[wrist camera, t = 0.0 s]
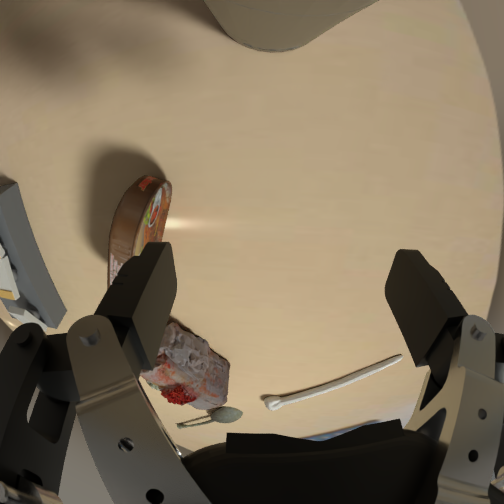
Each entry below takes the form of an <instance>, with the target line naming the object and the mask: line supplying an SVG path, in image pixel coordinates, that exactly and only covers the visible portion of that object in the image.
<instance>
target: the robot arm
mask: <svg viewBox="0 0 504 504" xmlns="http://www.w3.org/2000/svg"><path fill="white" fill-rule="evenodd" d="M203 1H204V2H205V3H206V5H207V6H208V8H209V9H210V11H211V12H212V14H213V15H214V17H215V18H216V20H217V21H218V23H219V24H220V26H221V27H222V28H223V30H224V31H225V32H226V33H227V34H228V35H229V36H230V37H231V38H232V39H234V40H235V41H236V42H238V43H240V44H242V45H244V46H246V47H248V48H251V49H254V50H257V51H263V52H285V51H290V50H294V49H297V48H299V47H302V46H304V45H306V44H307V43H309V42H310V41H312V40H313V39H315V38H317V37H318V36H320V35H321V34H323V33H324V32H326V31H327V30H329V29H331V28H332V27H334V26H335V25H337V24H339V23H340V22H342V21H344V20H345V19H347V18H349V17H350V16H352V15H354V14H356V13H357V12H359V11H361V10H363V9H364V8H366V7H368V6H370V5H372V4H373V3H375V2H377V1H379V0H203ZM176 292H177V278H176V272H175V266H174V259H173V253H172V247H171V244H170V243H169V242H147V244H146V245H145V247H144V249H143V250H142V252H141V254H140V255H139V256H133V257H131V258H130V259H129V260H128V261H126V262H125V263H124V264H123V265H122V267H121V268H120V270H119V272H118V273H117V276H116V277H115V278H114V280H113V282H112V285H110V287H109V288H108V290H107V292H106V293H105V295H104V297H103V299H102V301H101V302H100V304H99V306H98V308H97V309H96V311H95V313H94V315H89V316H85V317H83V318H81V319H79V320H77V321H76V322H75V323H74V324H73V325H72V326H71V327H70V329H69V330H68V333H63V334H54V335H46V334H45V332H44V331H43V329H42V327H41V326H40V325H39V324H37V323H33V322H30V323H25V324H23V325H21V326H19V327H18V328H16V329H15V330H14V331H13V333H12V334H11V335H10V337H9V339H8V340H7V342H6V344H5V346H4V348H3V350H2V352H1V353H0V504H63V503H62V501H61V499H60V498H59V497H58V493H59V486H60V481H61V475H62V470H63V465H64V460H65V456H66V451H67V447H68V443H69V439H70V435H71V430H72V427H73V423H74V420H75V416H76V413H77V416H78V419H79V423H80V426H81V428H82V431H83V434H84V437H85V440H86V442H87V445H88V448H89V450H90V452H91V455H92V457H93V460H94V462H95V465H96V467H97V469H98V471H99V474H100V476H101V478H102V480H103V482H104V484H105V486H106V488H107V490H108V492H109V494H110V496H111V498H112V500H113V502H114V504H504V334H499V333H494V331H493V328H492V327H491V325H490V324H489V323H488V322H487V321H486V320H484V319H483V318H481V317H479V316H476V315H468V314H467V312H466V311H465V309H464V308H463V306H462V305H461V303H460V302H459V300H458V299H457V297H456V296H455V294H454V293H453V291H452V290H450V287H449V286H448V284H447V283H446V282H445V280H444V279H443V277H442V276H441V275H440V273H439V272H438V271H437V270H436V269H435V268H433V267H432V266H431V265H430V264H429V263H428V262H427V261H426V259H425V258H424V257H423V255H422V254H421V253H420V252H419V251H418V250H408V249H400V250H398V251H397V253H396V255H395V258H394V261H393V264H392V267H391V270H390V273H389V275H388V278H387V281H386V284H385V297H386V300H387V302H388V304H389V306H390V308H391V310H392V313H393V315H394V317H395V319H396V321H397V323H398V326H399V328H400V330H401V332H402V335H403V337H404V339H405V342H406V344H407V346H408V349H409V351H410V353H411V356H412V358H413V361H414V363H415V366H416V367H421V366H426V365H429V367H430V369H429V371H428V372H427V374H426V376H425V379H424V382H423V386H422V389H421V392H420V395H419V398H418V401H417V404H416V406H415V409H414V412H413V414H412V417H411V418H410V420H409V422H408V423H407V424H406V426H405V427H404V429H402V425H401V421H400V419H396V420H391V421H386V422H381V423H376V424H370V425H364V426H361V427H359V428H357V429H354V430H352V431H349V432H347V433H344V434H342V435H339V436H336V437H334V438H331V439H328V440H325V441H312V440H306V439H299V438H294V437H288V436H283V435H278V434H249V433H227V438H226V442H224V443H218V444H214V445H211V446H207V447H204V448H202V449H199V450H197V451H195V452H193V453H191V454H189V455H187V456H186V457H183V455H182V454H181V452H180V451H179V449H178V448H177V446H176V444H175V443H174V441H173V440H172V438H171V437H170V435H169V434H168V432H167V430H166V429H165V427H164V425H163V424H162V422H161V420H160V419H159V417H158V415H157V413H156V412H155V410H154V408H153V406H152V404H151V402H150V400H149V399H148V397H147V395H146V393H145V391H144V389H143V387H142V385H141V383H140V381H139V376H140V373H141V369H143V370H150V371H153V370H154V366H155V363H156V359H157V356H158V352H159V349H160V345H161V342H162V338H163V335H164V332H165V328H166V325H167V322H168V319H169V315H170V312H171V309H172V306H173V303H174V300H175V297H176ZM36 387H37V388H38V389H39V390H40V392H39V395H38V397H37V400H36V403H35V405H34V408H33V411H32V414H31V417H30V420H29V423H28V422H27V410H28V407H29V404H30V402H31V399H32V396H33V393H34V391H35V388H36ZM493 470H494V472H495V478H496V479H495V480H493V481H491V478H492V474H493Z"/></svg>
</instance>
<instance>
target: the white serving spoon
mask: <svg viewBox="0 0 504 504" xmlns="http://www.w3.org/2000/svg"><path fill="white" fill-rule="evenodd" d="M402 358H403V355H399V356H396V357H393V358H390V359H388V360H385V361H383V362H381V363H378V364H375V365H373V366H370V367H367V368H365V369H363V370H361V371H358V372H355V373H353V374H350V375H348V376H346V377H344V378H342V379H339V380H336V381H333V382H330V383H328V384H325V385H322V386H319V387H316V388H313V389H309V390H306V391H303V392H300V393H296V394H293V395H289V396H285V397H279V396H269V397H267V398H265V399H264V403H265V405H266V407H267V408H268V409H269V410H277V409H279V408H280V407H281V406H283V405H287V404H291V403H294V402H297V401H301V400H304V399H307V398H310V397H313V396H316V395H319V394H323V393H326V392H329V391H332V390H334V389H337V388H340V387H343V386H346V385H348V384H351V383H353V382H355V381H358V380H360V379H362V378H365V377H367V376H370V375H372V374H374V373H376V372H378V371H380V370H382V369H384V368H386V367H388V366H390V365H393V364H395V363H397V362H398V361H400V360H401V359H402Z"/></svg>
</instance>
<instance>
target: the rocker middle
mask: <svg viewBox="0 0 504 504" xmlns="http://www.w3.org/2000/svg"><path fill="white" fill-rule="evenodd" d="M17 278H18V273H17V271H16V270H13V269H11V266H10V263H9V259H8V256H5V255H4V256H3V257H2V258H0V297H2V298H6V299H11V300H17V299H18V298H19V297H20V295H19V292H18V289H17V286H16V283H15V281H16V280H17Z"/></svg>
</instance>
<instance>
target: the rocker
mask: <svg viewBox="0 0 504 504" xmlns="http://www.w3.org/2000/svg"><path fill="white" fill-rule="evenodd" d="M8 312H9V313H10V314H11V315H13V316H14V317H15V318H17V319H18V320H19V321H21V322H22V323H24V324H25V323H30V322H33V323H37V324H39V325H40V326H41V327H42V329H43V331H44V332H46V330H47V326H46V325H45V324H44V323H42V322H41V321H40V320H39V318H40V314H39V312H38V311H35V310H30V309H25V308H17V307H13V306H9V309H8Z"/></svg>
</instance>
